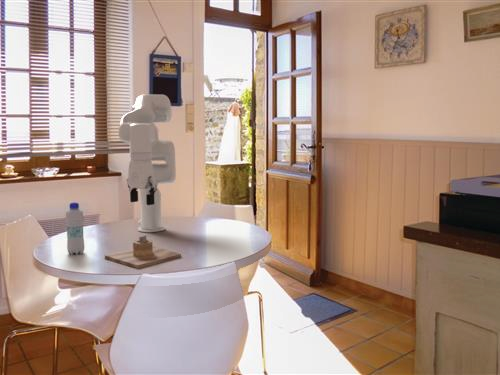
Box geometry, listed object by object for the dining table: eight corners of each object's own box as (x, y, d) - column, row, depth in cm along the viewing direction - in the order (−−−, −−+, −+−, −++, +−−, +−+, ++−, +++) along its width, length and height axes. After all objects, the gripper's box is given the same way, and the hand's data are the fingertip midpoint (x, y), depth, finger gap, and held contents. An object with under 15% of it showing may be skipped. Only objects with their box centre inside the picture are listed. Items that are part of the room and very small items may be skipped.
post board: (104, 258, 180) (104, 236, 179) (148, 248, 196) (147, 228, 194) (137, 268, 168) (136, 245, 166) (181, 256, 183) (180, 235, 182)
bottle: (88, 251, 190) (86, 201, 187) (77, 256, 184) (75, 204, 181) (74, 250, 192) (72, 200, 189) (63, 254, 186) (60, 203, 183)
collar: (130, 254, 181) (129, 241, 180) (144, 251, 186) (144, 238, 186) (141, 257, 177) (141, 244, 176) (156, 254, 182) (155, 241, 181)
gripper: (118, 156, 180) (120, 202, 183) (147, 159, 169) (148, 207, 172) (135, 155, 186) (136, 199, 188) (164, 158, 175) (165, 204, 177)
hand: (142, 203), depth 180 cm, fingers open, 9 cm apart
